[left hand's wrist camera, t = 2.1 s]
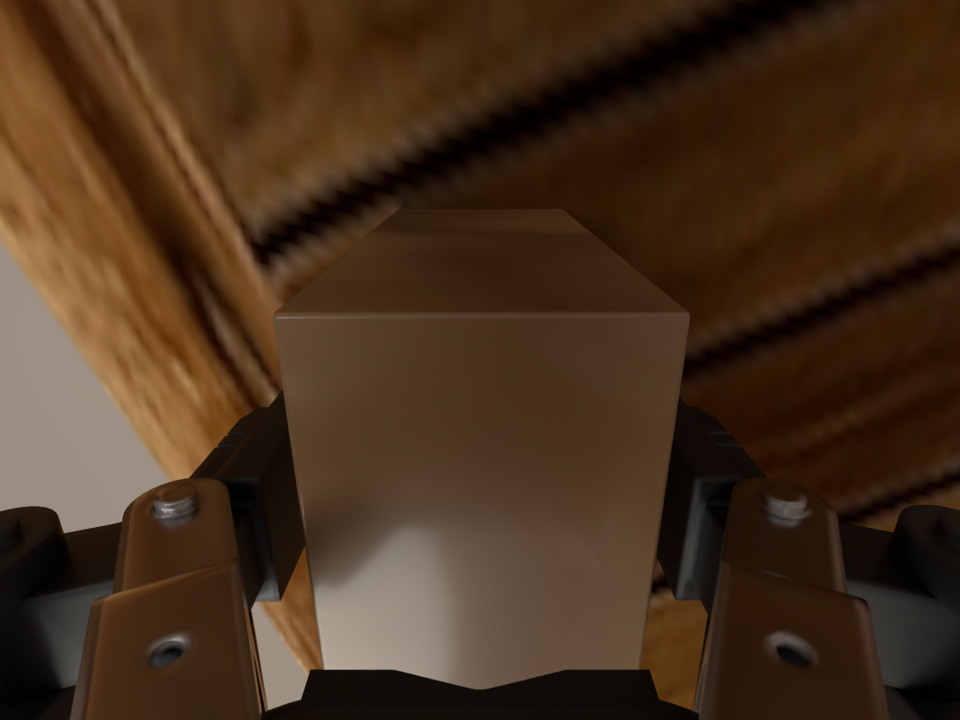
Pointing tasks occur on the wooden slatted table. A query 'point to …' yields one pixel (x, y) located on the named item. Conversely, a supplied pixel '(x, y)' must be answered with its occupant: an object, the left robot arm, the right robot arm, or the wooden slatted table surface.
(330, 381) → the brick
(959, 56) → the wooden slatted table surface
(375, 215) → the wooden slatted table surface
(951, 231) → the wooden slatted table surface
